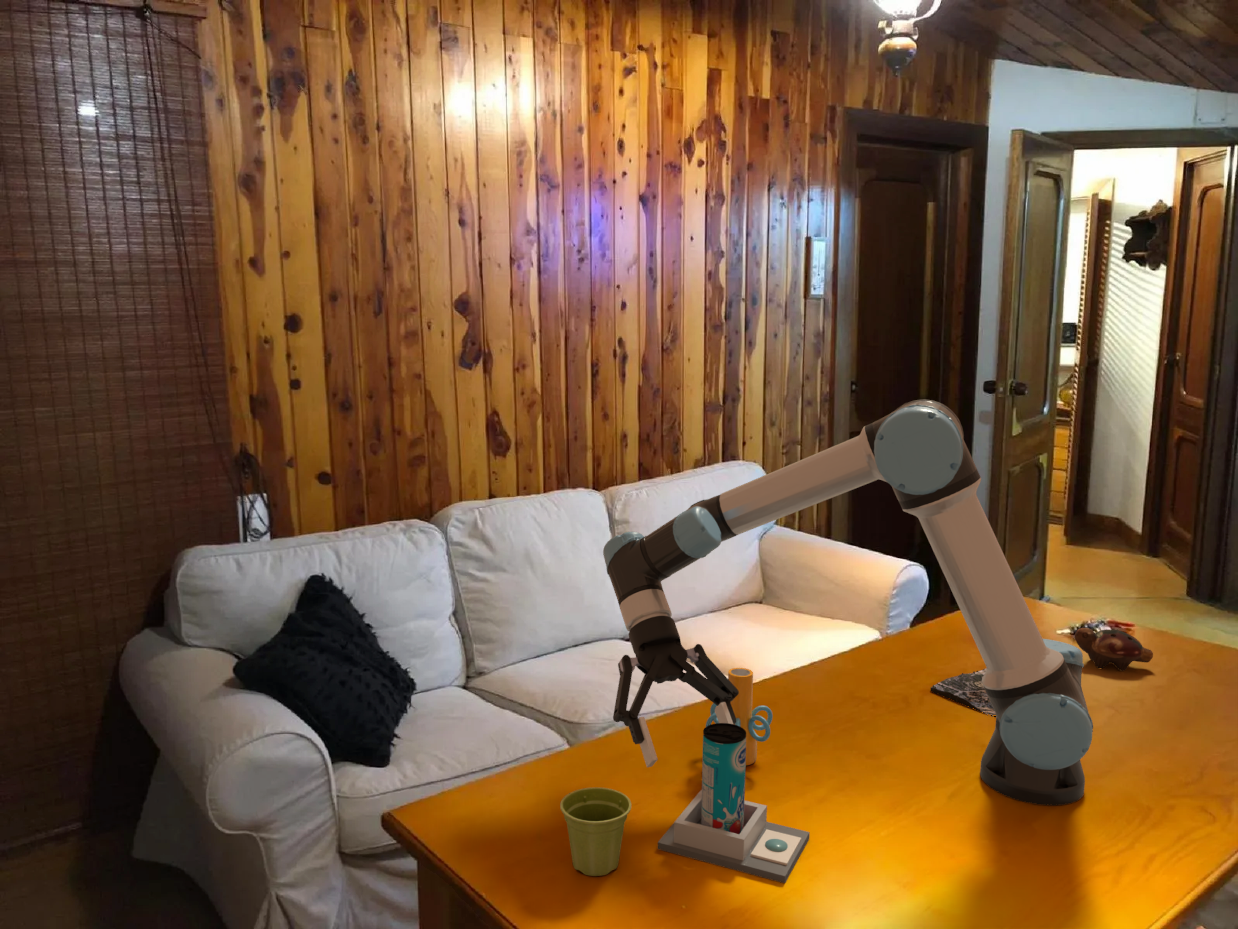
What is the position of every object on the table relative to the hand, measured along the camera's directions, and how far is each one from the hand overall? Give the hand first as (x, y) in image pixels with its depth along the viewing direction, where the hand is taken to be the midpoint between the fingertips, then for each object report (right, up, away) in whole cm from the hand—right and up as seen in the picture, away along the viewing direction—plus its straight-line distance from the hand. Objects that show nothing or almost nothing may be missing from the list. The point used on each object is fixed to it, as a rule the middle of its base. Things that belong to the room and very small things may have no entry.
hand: (694, 755), depth 141 cm
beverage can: (+3, -10, -5) cm, 11 cm away
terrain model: (+62, -3, +48) cm, 79 cm away
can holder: (+5, -10, -6) cm, 13 cm away
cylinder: (+9, -7, +20) cm, 22 cm away
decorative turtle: (+92, 0, +63) cm, 112 cm away
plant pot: (-14, -11, -11) cm, 21 cm away
